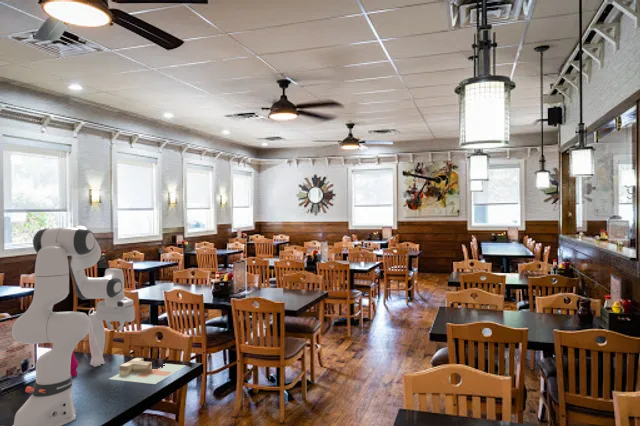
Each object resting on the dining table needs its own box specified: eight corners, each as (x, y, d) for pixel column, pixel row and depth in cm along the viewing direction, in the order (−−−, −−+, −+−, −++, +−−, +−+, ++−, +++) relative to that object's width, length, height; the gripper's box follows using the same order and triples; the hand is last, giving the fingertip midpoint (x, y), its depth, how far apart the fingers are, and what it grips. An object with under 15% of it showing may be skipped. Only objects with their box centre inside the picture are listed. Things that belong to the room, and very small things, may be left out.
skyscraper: (86, 364, 224) (85, 308, 224) (101, 360, 230) (100, 306, 230) (92, 367, 219) (91, 310, 219) (108, 363, 225) (107, 308, 224)
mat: (155, 384, 196) (155, 384, 196) (108, 379, 203) (108, 378, 203) (186, 366, 219) (186, 365, 219) (143, 362, 226) (143, 361, 226)
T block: (141, 376, 205) (141, 367, 205) (119, 374, 209) (119, 365, 209) (157, 367, 217) (157, 359, 217) (136, 365, 220) (136, 357, 220)
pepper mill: (59, 379, 205) (58, 335, 204) (61, 374, 211) (60, 332, 211) (77, 376, 208) (76, 333, 207) (79, 371, 214) (78, 330, 214)
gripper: (92, 301, 216) (92, 330, 216) (127, 303, 210) (128, 332, 210) (102, 299, 222) (102, 327, 222) (136, 300, 216) (137, 329, 216)
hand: (115, 329), depth 216 cm, fingers open, 4 cm apart
